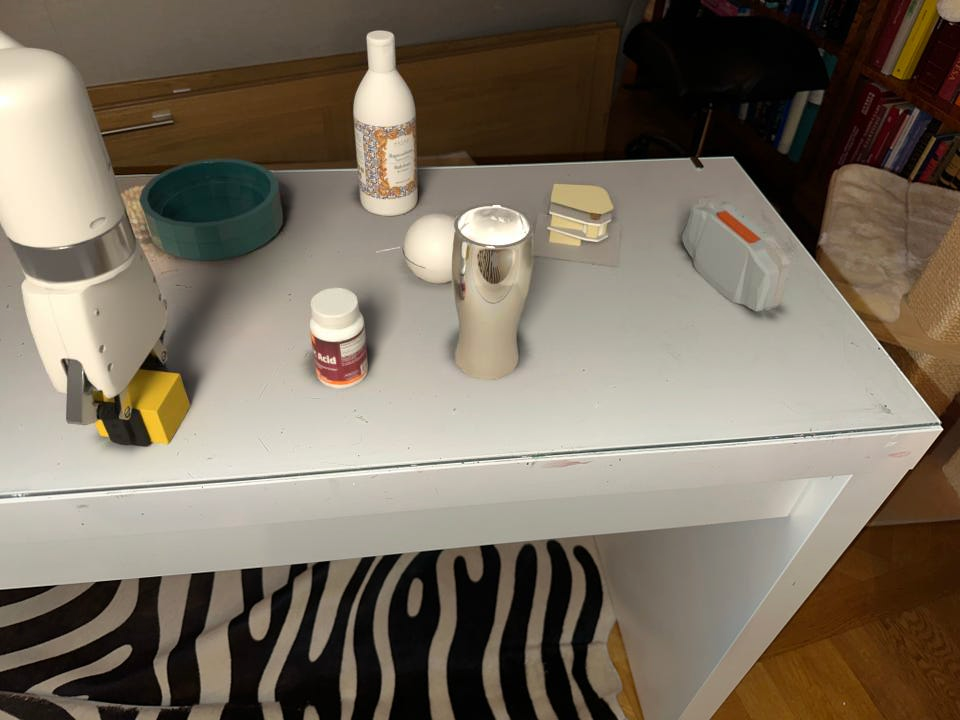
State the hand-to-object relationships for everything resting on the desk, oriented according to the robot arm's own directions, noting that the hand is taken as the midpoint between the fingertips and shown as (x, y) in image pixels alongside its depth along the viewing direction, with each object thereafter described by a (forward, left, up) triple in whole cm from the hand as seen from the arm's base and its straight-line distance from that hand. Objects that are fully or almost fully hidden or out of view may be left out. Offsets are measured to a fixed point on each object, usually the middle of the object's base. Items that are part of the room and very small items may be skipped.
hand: (145, 418), depth 64 cm
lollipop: (+20, +25, -1) cm, 32 cm away
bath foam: (+13, +39, -1) cm, 41 cm away
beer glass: (+28, +13, -1) cm, 31 cm away
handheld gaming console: (+52, +29, -1) cm, 59 cm away
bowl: (-5, +30, 0) cm, 30 cm away
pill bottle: (+15, +9, -1) cm, 17 cm away
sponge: (0, 0, 0) cm, 0 cm away
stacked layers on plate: (+36, +35, -1) cm, 50 cm away
